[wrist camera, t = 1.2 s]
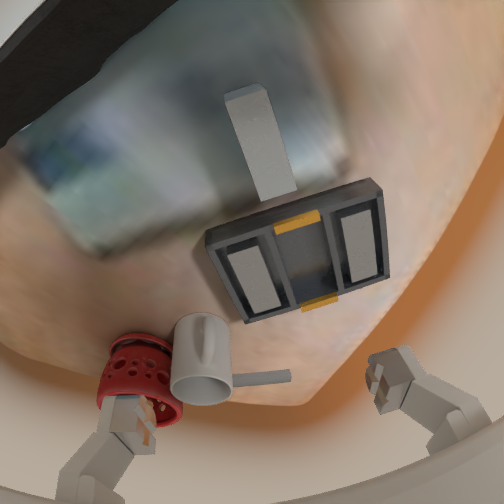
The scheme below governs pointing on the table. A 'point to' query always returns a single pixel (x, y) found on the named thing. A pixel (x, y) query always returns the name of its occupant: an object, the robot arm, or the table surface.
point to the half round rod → (261, 378)
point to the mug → (201, 360)
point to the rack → (303, 251)
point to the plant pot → (142, 374)
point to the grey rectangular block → (260, 140)
